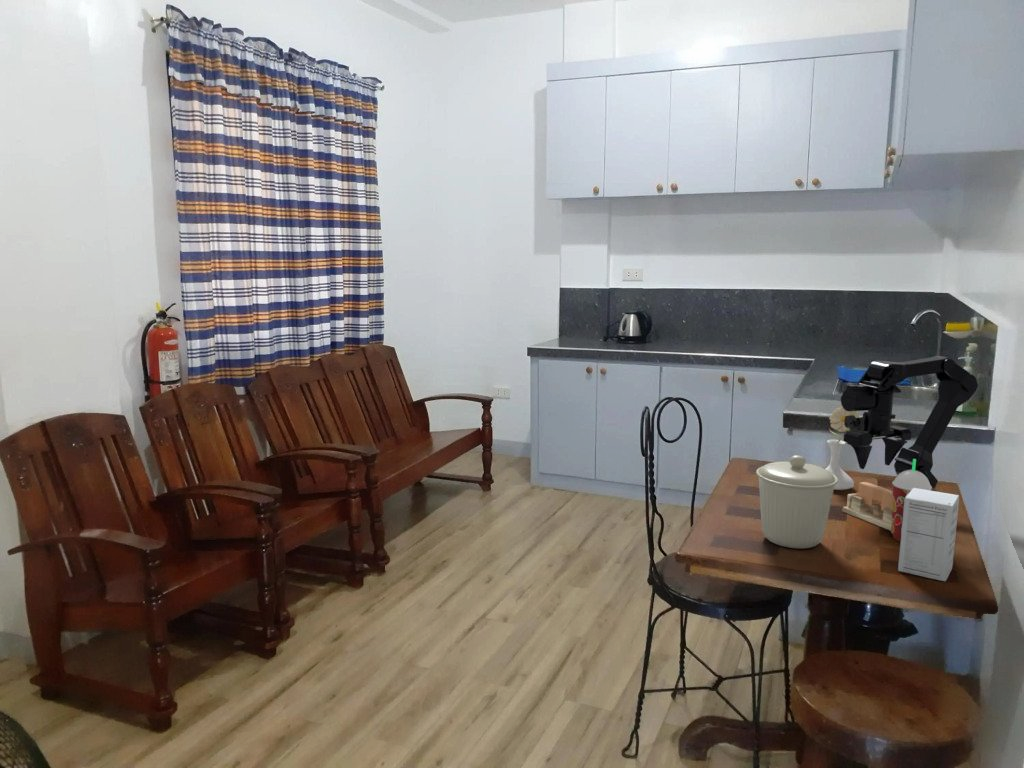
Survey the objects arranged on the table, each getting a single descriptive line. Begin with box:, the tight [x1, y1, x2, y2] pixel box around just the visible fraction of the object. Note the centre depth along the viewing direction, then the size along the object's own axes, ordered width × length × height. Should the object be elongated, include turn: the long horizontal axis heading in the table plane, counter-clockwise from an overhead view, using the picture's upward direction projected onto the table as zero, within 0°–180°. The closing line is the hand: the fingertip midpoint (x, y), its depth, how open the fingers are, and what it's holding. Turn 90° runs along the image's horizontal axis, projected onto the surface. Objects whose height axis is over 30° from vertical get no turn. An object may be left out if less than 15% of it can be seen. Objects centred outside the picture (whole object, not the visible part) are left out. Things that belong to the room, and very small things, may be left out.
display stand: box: [841, 492, 892, 532], centre depth 195 cm, size 8×16×5 cm, turn 23°
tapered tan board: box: [857, 481, 892, 511], centre depth 195 cm, size 2×12×5 cm, turn 24°
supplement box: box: [897, 488, 960, 582], centre depth 163 cm, size 10×9×17 cm
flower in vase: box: [825, 406, 860, 491], centre depth 219 cm, size 13×11×25 cm
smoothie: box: [890, 459, 933, 543], centre depth 180 cm, size 8×8×20 cm
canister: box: [755, 454, 838, 549], centre depth 178 cm, size 18×18×21 cm
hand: (874, 466), depth 200 cm, fingers open, 9 cm apart
